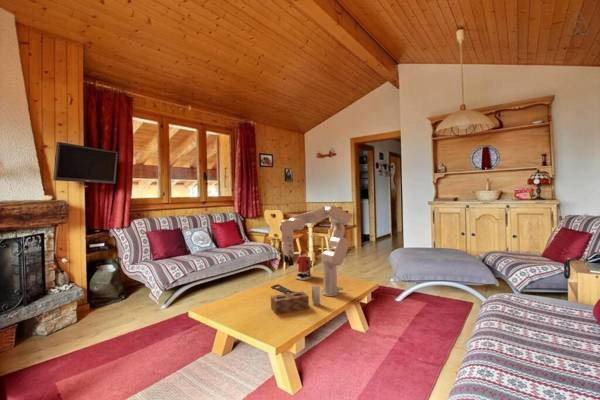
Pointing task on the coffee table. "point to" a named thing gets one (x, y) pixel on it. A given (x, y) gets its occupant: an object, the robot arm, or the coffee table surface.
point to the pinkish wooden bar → (316, 295)
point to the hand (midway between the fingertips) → (288, 263)
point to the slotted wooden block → (289, 302)
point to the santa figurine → (303, 266)
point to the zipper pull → (282, 289)
